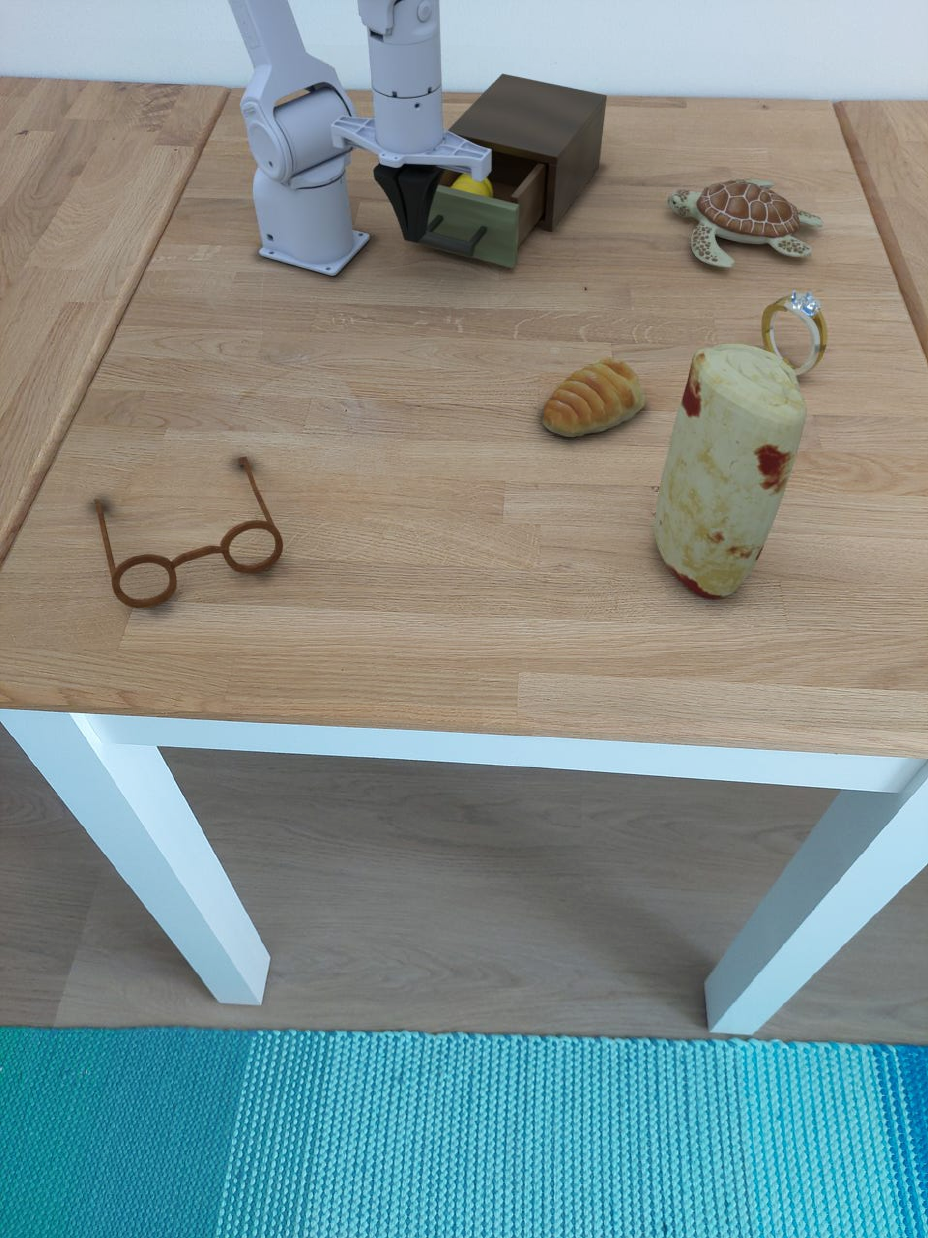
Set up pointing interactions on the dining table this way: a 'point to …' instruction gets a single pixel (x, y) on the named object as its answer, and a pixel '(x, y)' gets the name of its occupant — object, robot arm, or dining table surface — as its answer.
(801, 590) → the dining table surface
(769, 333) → the ring
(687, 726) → the dining table surface
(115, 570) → the glasses
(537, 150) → the cabinet
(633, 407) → the pastry
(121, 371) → the dining table surface
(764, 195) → the decorative turtle
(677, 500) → the food model
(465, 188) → the yellow capsule container
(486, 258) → the drawer
